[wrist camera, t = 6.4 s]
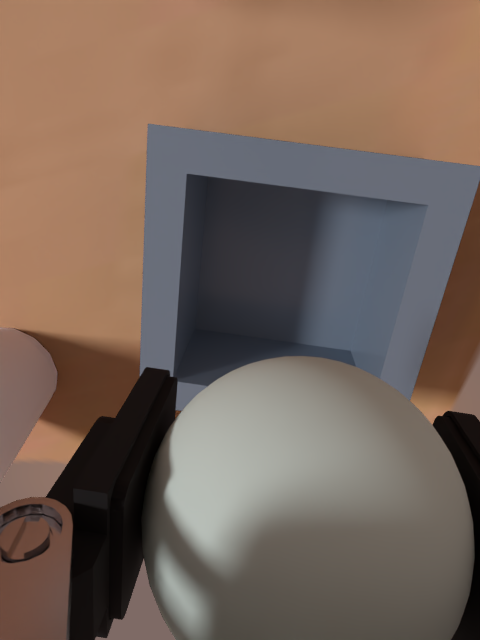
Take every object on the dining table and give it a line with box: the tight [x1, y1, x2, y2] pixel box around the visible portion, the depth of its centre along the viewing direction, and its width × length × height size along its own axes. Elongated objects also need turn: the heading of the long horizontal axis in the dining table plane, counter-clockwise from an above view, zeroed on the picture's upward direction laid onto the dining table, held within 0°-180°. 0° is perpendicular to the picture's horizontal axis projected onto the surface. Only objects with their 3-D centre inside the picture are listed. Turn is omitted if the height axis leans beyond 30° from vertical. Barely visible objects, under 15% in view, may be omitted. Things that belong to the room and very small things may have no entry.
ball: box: [141, 356, 475, 640], centre depth 8 cm, size 6×6×6 cm
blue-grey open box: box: [140, 124, 480, 411], centre depth 22 cm, size 13×13×7 cm
